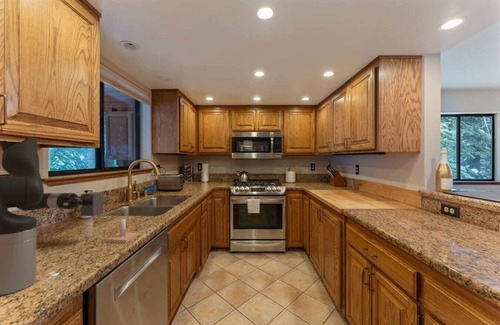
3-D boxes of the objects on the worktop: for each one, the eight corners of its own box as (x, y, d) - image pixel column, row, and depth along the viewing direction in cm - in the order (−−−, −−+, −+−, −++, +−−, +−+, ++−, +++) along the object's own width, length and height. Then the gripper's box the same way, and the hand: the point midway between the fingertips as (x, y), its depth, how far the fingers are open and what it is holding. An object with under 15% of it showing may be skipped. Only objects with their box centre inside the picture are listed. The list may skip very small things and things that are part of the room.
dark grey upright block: (93, 216, 96) (93, 194, 96) (80, 215, 97) (80, 193, 97) (102, 213, 102) (103, 192, 102) (91, 212, 103) (91, 192, 103)
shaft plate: (125, 243, 98) (126, 222, 98) (105, 242, 99) (105, 222, 99) (138, 235, 108) (138, 217, 108) (119, 235, 109) (119, 216, 109)
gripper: (48, 195, 93) (84, 196, 92) (76, 190, 108) (108, 191, 107) (47, 212, 93) (84, 213, 92) (76, 205, 108) (108, 206, 107)
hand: (97, 201), depth 100 cm, fingers closed on dark grey upright block, 6 cm apart
